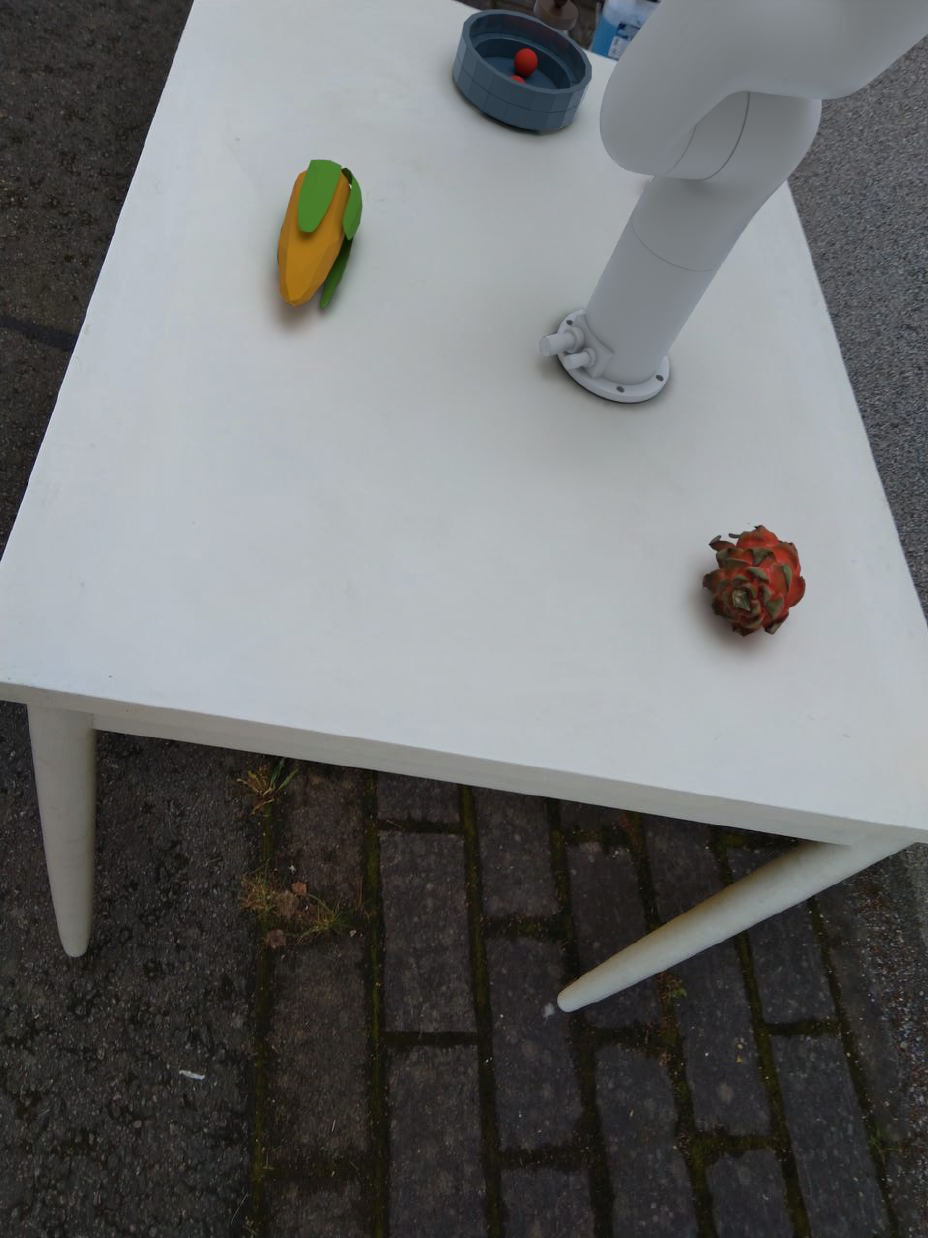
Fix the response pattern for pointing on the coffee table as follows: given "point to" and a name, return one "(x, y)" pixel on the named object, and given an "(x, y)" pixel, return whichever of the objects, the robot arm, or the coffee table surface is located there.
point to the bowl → (490, 65)
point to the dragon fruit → (755, 580)
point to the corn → (318, 231)
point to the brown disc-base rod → (556, 13)
